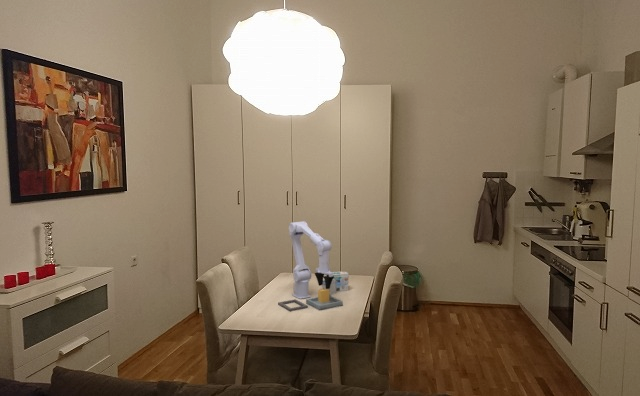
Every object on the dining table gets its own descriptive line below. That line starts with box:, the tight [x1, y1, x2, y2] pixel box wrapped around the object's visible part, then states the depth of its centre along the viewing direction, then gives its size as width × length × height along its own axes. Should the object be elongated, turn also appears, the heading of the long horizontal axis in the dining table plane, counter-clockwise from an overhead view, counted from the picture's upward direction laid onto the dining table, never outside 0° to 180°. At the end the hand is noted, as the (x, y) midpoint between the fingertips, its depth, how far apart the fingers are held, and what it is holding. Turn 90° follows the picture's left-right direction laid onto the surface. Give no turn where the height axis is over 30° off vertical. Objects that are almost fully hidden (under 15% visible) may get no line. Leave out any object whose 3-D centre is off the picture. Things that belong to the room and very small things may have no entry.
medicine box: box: [321, 279, 337, 296], centre depth 268 cm, size 8×4×9 cm, turn 141°
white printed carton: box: [331, 270, 350, 292], centre depth 276 cm, size 11×7×11 cm, turn 106°
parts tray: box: [305, 295, 344, 311], centre depth 247 cm, size 14×15×2 cm
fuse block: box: [317, 288, 329, 305], centre depth 247 cm, size 4×5×8 cm
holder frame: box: [277, 299, 309, 312], centre depth 245 cm, size 14×11×1 cm
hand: (324, 287), depth 247 cm, fingers open, 7 cm apart
